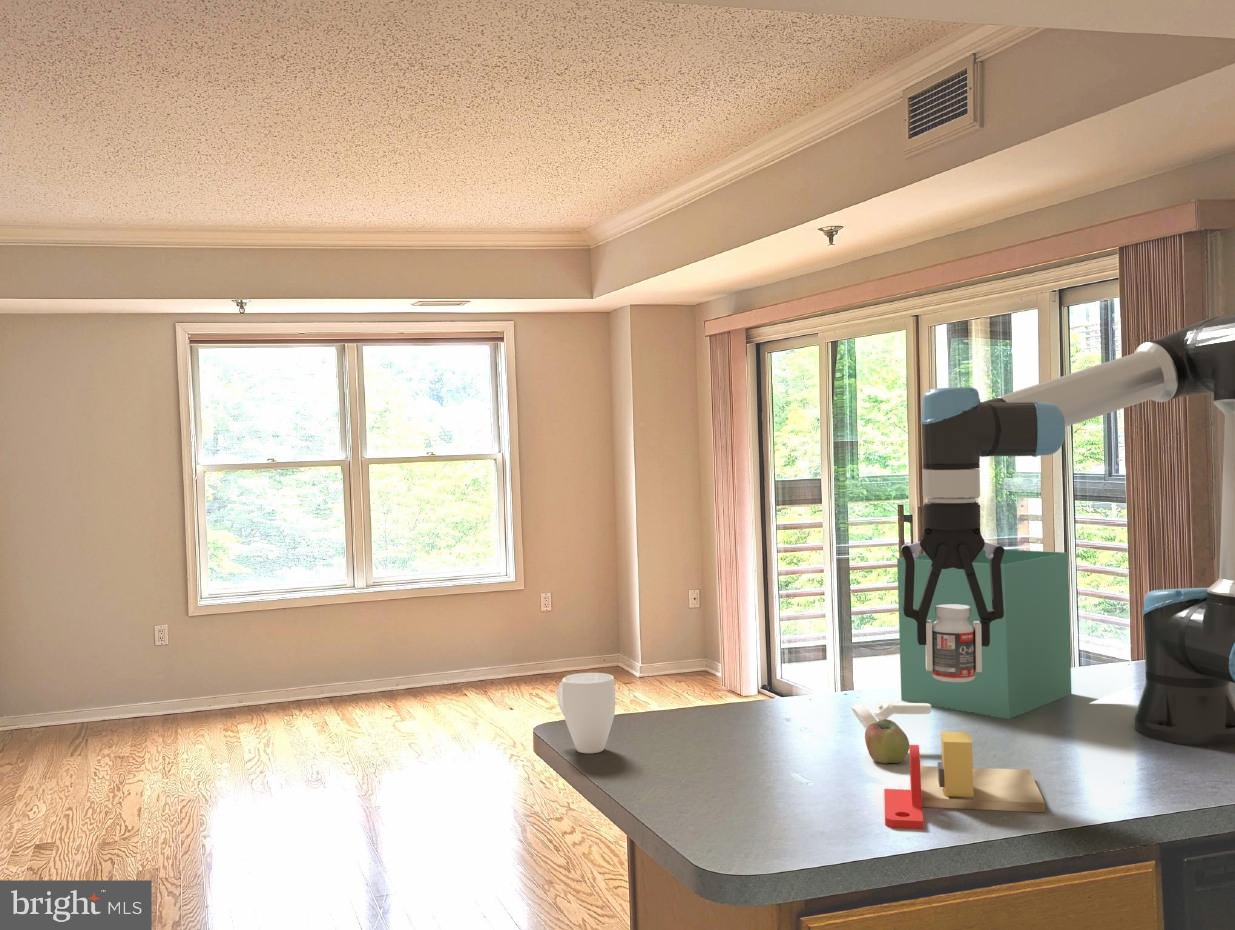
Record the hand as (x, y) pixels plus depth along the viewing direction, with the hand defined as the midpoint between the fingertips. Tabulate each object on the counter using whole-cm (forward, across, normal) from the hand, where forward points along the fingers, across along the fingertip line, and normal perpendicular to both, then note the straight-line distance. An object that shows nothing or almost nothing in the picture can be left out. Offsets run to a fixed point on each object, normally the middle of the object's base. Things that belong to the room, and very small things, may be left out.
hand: (953, 669), depth 148 cm
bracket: (+16, +7, +13) cm, 22 cm away
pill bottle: (+2, 0, 0) cm, 2 cm away
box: (+15, -9, -51) cm, 54 cm away
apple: (+16, +9, -10) cm, 21 cm away
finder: (+11, -2, +8) cm, 13 cm away
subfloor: (+16, -2, +4) cm, 16 cm away
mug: (+17, +56, -11) cm, 59 cm away
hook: (+16, +8, -16) cm, 24 cm away
